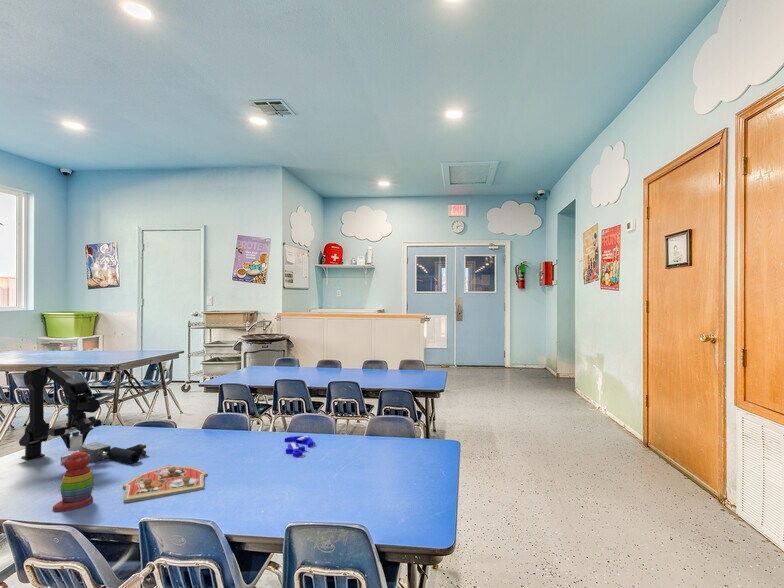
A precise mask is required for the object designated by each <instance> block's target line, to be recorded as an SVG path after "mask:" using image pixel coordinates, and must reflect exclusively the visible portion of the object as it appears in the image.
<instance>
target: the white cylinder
mask: <svg viewBox="0 0 784 588" xmlns="http://www.w3.org/2000/svg"><path fill="white" fill-rule="evenodd" d="M82 437H83V435H82V434H80V431H78V430H77V431H73V432H72V433H71V435H70V448H69V449H68V448H67V451H68V452H79V450H81V449H82Z"/></svg>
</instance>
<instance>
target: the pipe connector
mask: <svg viewBox="0 0 784 588" xmlns="http://www.w3.org/2000/svg"><path fill="white" fill-rule="evenodd" d="M145 449H147V444H142V443H139V444H136V445H134V446H131V447H128V448H127V447H126V448H122V447H117V446H114V447H112V448H111V449H110V451H109V454H108V459H111V460H115V461H118V462H119V461H120V462H122V463H128V464H131V465H133V464H136V463H138V462H139V460H140V459H141V457H142V456H145V455H146V454H147V450H145Z"/></svg>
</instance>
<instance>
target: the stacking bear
mask: <svg viewBox="0 0 784 588" xmlns="http://www.w3.org/2000/svg"><path fill="white" fill-rule="evenodd" d="M70 454H71V455H70V456H69V457H68V458H67V459H66V460H65V461H64V463H63V464H62V465H63V467H64V468H65V470H66V471H64V473H63V477H62V480H61V482H60V494H61V501H60V500H59V501H58V502H56V503H55V504H54V505H53V506H52V511H54V512H64V511H71V510H75V509H80V508H83V507H85V506H87V505H89V504H91V503H92V502H93V501H94V499H93V495H92V493H93V489H94V484H95V481H94V478H95V477H94V476H93V475H94V473H93V471H92V469H91V468H90V467H89V466H88V465H89V463H90V462H89V455H88V454H87V453H85V451H84V450H81V452H79V451H74V452H73V454H72V453H70Z"/></svg>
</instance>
